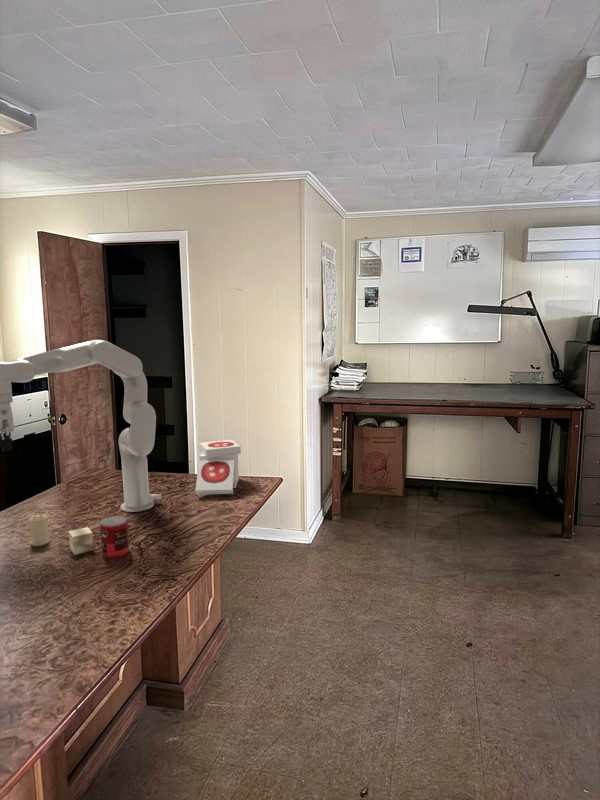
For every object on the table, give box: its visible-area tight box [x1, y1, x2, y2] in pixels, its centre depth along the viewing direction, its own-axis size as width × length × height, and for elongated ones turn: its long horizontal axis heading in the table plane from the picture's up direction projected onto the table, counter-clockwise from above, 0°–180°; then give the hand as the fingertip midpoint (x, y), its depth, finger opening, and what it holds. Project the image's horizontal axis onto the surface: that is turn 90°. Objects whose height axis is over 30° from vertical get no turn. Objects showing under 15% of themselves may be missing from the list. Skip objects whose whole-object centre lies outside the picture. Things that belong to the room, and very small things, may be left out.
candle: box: [28, 512, 50, 547], centre depth 192 cm, size 6×6×10 cm
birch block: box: [68, 526, 95, 556], centre depth 186 cm, size 6×6×6 cm
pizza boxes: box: [195, 439, 242, 495], centre depth 248 cm, size 19×30×18 cm, turn 1°
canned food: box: [99, 515, 129, 559], centre depth 182 cm, size 8×8×11 cm
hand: (4, 448), depth 196 cm, fingers open, 9 cm apart
